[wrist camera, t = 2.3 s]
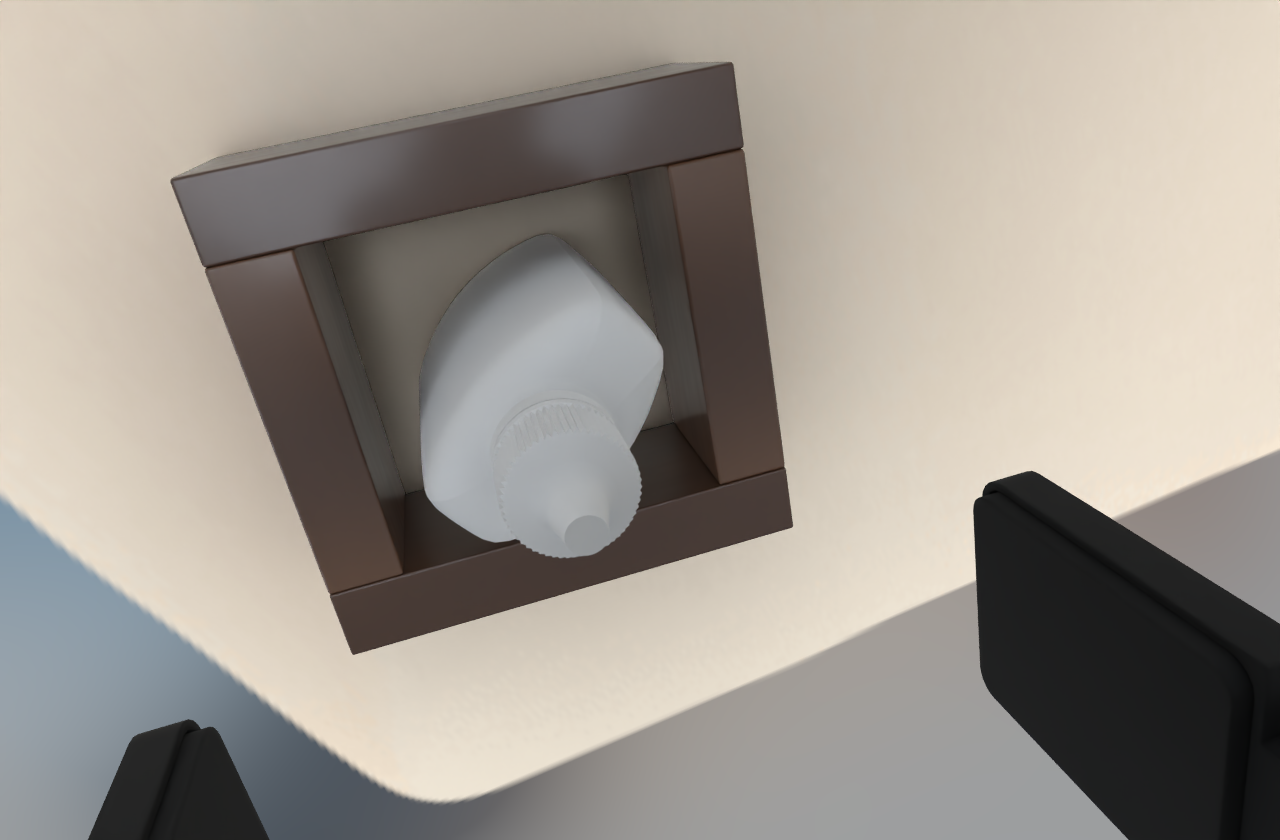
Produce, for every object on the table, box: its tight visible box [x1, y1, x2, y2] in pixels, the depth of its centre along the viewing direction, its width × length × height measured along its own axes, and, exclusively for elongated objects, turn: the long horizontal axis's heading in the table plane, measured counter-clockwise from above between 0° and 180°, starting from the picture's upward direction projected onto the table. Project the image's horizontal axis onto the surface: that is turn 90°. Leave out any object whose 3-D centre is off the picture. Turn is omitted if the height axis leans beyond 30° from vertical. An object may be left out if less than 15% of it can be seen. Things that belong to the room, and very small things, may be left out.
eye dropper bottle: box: [419, 234, 664, 558], centre depth 19 cm, size 4×6×12 cm
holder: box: [170, 62, 793, 655], centre depth 23 cm, size 12×12×4 cm
